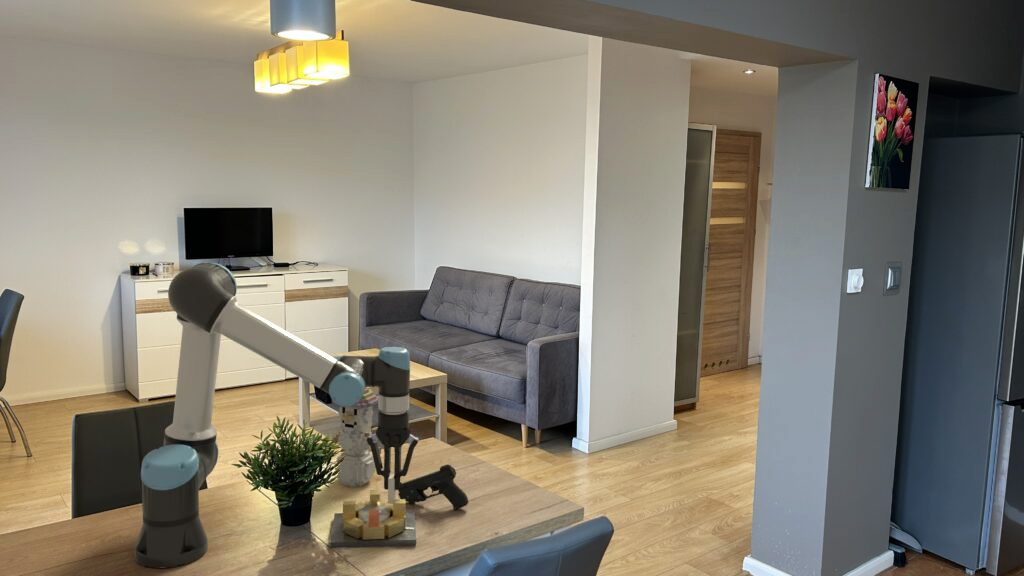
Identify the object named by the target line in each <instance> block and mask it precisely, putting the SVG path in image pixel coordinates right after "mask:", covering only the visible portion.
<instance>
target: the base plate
mask: <svg viewBox="0 0 1024 576" xmlns="http://www.w3.org/2000/svg"><path fill="white" fill-rule="evenodd" d="M369 510H379V521H384V520H386V519H388V518H390V510H389V508H387V507H385V506H380V505H371V506H366V507H363V508H361V509H360V510H359V515H358V519H360V520H363V521H365V522H369ZM405 517H406V518H405V529H404V531H402V532H400V533H398V534H396V535H394V536H392V537H390V538H388V537H385V536H384V539H365V540H363V537H361V538H359V539H357V538H355V537H353V536H350V535H348V534H346V533H344V531H342V518H343V512H335V513H334V516H333V521H332V528H331V533H330V539H329V549H352V548H354V549H355V548H357V549H358V548H380V547H381V548H384V547H385V548H386V547H389V548H390V547H412V546H413V547H415V546H417V532H416V530H417V529H416V517H415V511H413V510H412V511H410V510H409V511H407V510H406V511H405Z"/></svg>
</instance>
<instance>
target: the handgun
mask: <svg viewBox="0 0 1024 576" xmlns="http://www.w3.org/2000/svg"><path fill="white" fill-rule="evenodd" d="M456 476H457V472H456V469H455V468H454V466H452V465H451V464H445V465H441V466H440V468H439V469H438V470H437V471H434V472H430V473H428V474H425V475H422V476H418V477H416V478H413V479H410V480H408V481H405V482H401V481H400V487H399V490H397V491H398V492H397V494H398V497H399V499H406V502H408V504H409V505H410V506H411V505H414V504H415V503H420V502H425V501H426V499H429V498H432V497H437V496H439V495H443V496H444V497H445V498H446V499H447V500H448V502H450V503H451V506H452V508H453V509H454V511H457V510H459V509H461V508H463V507H466V506H467V505H468V504H469V499H468V496H467V494H466V493H465V491H464V490H462V489H461V488H460V487H459V486H458V485H457V483H455V482H454V480H455V478H456ZM429 488H430V489H431V492H432V493H431V494H429V495H427V494H425V491H427V490H428V489H429ZM437 491H438V492H437ZM434 492H436V493H434Z"/></svg>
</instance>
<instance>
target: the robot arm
mask: <svg viewBox="0 0 1024 576" xmlns="http://www.w3.org/2000/svg"><path fill="white" fill-rule="evenodd" d="M237 283H238V282H237V281H236V278H235V276H234V274H233V272H232V271H230V269H228V268H227V267H226V266H224V265H222V264H220V263H217V262H199V263H197V264H195V265H193V266H191V267H189V268H187V269H184V270H182V271H181V272H178V273H177V275H174V277H173V279H172V280H171V281H170V284H169V286H168V291H167V297H168V301H169V304H170V306H171V308H172V310H173V311H174V312H175V313H176V320H177V321H178V323H179V324H181V326H182V332H181V341H180V350H179V358H178V359H179V361H178V369H177V370H178V371H177V379H176V388H175V389H176V390H175V399H174V409H173V419H172V423H171V424H170V425H168V426H166V428H165V430H164V438H163V446H161V447H159V448H155V449H152V450H151V451H149V452H148V453H147V454H146V455H145V456H144V457H143V459H142V462H141V468H140V480H141V502H142V503H141V504H142V525H141V528H140V531H139V535H138V538H137V540H136V542H135V546H134V559H135V561H136V563H137V564H139V565H140V564H141V566H143V565H144V566H143V567H146V566H149V567H148V568H151V567H170V568H173V567H172V566H176V567H179V566H178V565H181V566H183V565H182V564H184V565H187V564H186V563H188V564H190V563H192V561H193V562H195V561H197V560H199V559H200V558H201V556H202V557H203V556H204V555H205V554H206V553H207V551H208V547H209V545H208V541H209V540H208V536H207V533H206V531H205V528H204V526H203V523H202V521H201V518H200V509H199V508H200V505H199V504H200V501H199V500H200V499H199V497H200V496H199V494H200V488H201V486H202V485H203V483H204V482H205V480H206V479H207V478H208V476H209V475H210V474H211V473H212V472H213V470H214V469H215V467H216V465H217V463H218V459H219V453H220V452H219V445H218V443H217V435H218V430H217V429H216V428H215V427H214V426H213V424H212V419H213V412H214V411H213V410H214V401H215V400H214V399H215V392H216V384H217V373H218V364H219V357H220V356H219V354H220V346H221V337H222V336H224V337H226V338H227V339H230V340H231V341H233V342H235V343H236V344H239V345H240V346H242V347H243V348H246V349H247V350H250V351H251V352H253V353H255V354H256V355H259V356H260V357H262V358H264V359H265V360H268V361H269V362H271V363H272V364H275V365H276V366H278V367H280V368H282V369H284V371H288V372H289V373H291V374H293V375H295V376H296V377H298V378H300V379H301V380H303V381H305V382H307V383H309V384H311V385H313V386H315V387H316V388H317V389H320V390H322V391H324V392H325V393H327V394H328V395H329V396H330V399H331V401H332V400H333V401H334V402H335V403H336V404H338V405H337V406H352V405H354V404H356V403H357V402H358V401H359V400H360V399H361V397H362V396H363V394H364V391H365V387H367V388H378V395H377V396H378V403H377V404H378V405H377V408H378V410H379V411H378V412H377V413H378V414H377V428H376V430H375V433H373V434H372V435H369V437H368V438H367V442H368V444H369V445H370V446H369V448H370V449H371V456H373V459H374V464H375V473H376V474H377V475H379V476H382V477H383V489H384V490H387V502H388V504H393V500H394V499H397V491H398V490H399V487H400V482H401V478H402V477H406V476H407V474H408V472H409V468H410V466H411V461H412V458H413V454H414V450H415V447H416V446H417V445H418V443H419V441H420V438H419V437H418V436H414V435H413V434H412V433H411V432H412V431H411V430H410V427H409V425H410V421H409V420H410V419H409V418H410V412H409V409H410V382H411V381H410V379H411V354H410V351H409V350H408V349H407V348H405V347H400V346H385V347H383V348H381V349H380V350H379V352H378V355H373V356H371V355H370V356H368V355H345V354H343V355H334V356H333V355H330V354H328V353H327V352H325V351H323V350H322V349H320V348H318V347H315V346H314V345H313V344H310V343H309V342H307V341H306V340H303V339H302V338H300V337H299V336H296V335H295V334H293V333H291V332H290V331H288V330H286V329H284V328H282V327H281V326H279V325H277V324H275V323H274V322H272V321H270V320H268V319H267V318H265V317H263V316H261V315H260V314H258V313H256V312H254V311H253V310H250V309H249V308H246V307H245V306H243V305H242V304H240V303H239V302H238V301H237V300H238V299H237V297H236V295H237V291H238V290H237V289H238V285H237ZM378 440H379V441H380V443H381V444H382V445H383V451H384V453H383V458H384V459H383V462H382V458H381V454H380V453H379V448H378V447H379V443H378ZM407 440H408V445H409V446H408V449H407V453H406V457H405V460H404V464H403V467H401V466H402V446H403V445H404V444H405V442H406V441H407ZM377 443H378V444H377ZM392 448H394V467H393V468H394V470H393V471H394V472H393V474H391V472H392V471H391V465H392V464H391V463H392V462H391V460H392V459H391V457H392ZM198 558H199V559H198ZM196 559H197V560H196ZM194 560H195V561H194ZM189 562H190V563H189Z"/></svg>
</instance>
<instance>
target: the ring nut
mask: <svg viewBox="0 0 1024 576" xmlns="http://www.w3.org/2000/svg"><path fill="white" fill-rule="evenodd" d="M369 491H370V492H369V500H366V501H364V502H361V501H360V502H358V503H357V501H356V499H355V500H353V499H352V500H343V502H342V513H343V518H342V531H344V533H346V534H348V535H350V536H353V537H355V538H357V539H359V538H361V537H363V540H365V539H384V536H385V537H388V538H390V537H392V536H394V535H396V534H398V533H400V532H402V531H404V529H405V518H406V517H405V511H407V509H406V506H407V505H406V504H407V503H406V502H407V501H406V499H400V498H399V499H397V498H396V499H394V500H393V504H388V501H387V502H386V501H385V500H381V489H369ZM371 505H380V506H385V507H387V508H389V510H390V518H388V519H386V520H384V521H379V510H369V522H365V521H363V520H360V519H358V515H359V510H360V509H361V508H363V507H366V506H371Z"/></svg>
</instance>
